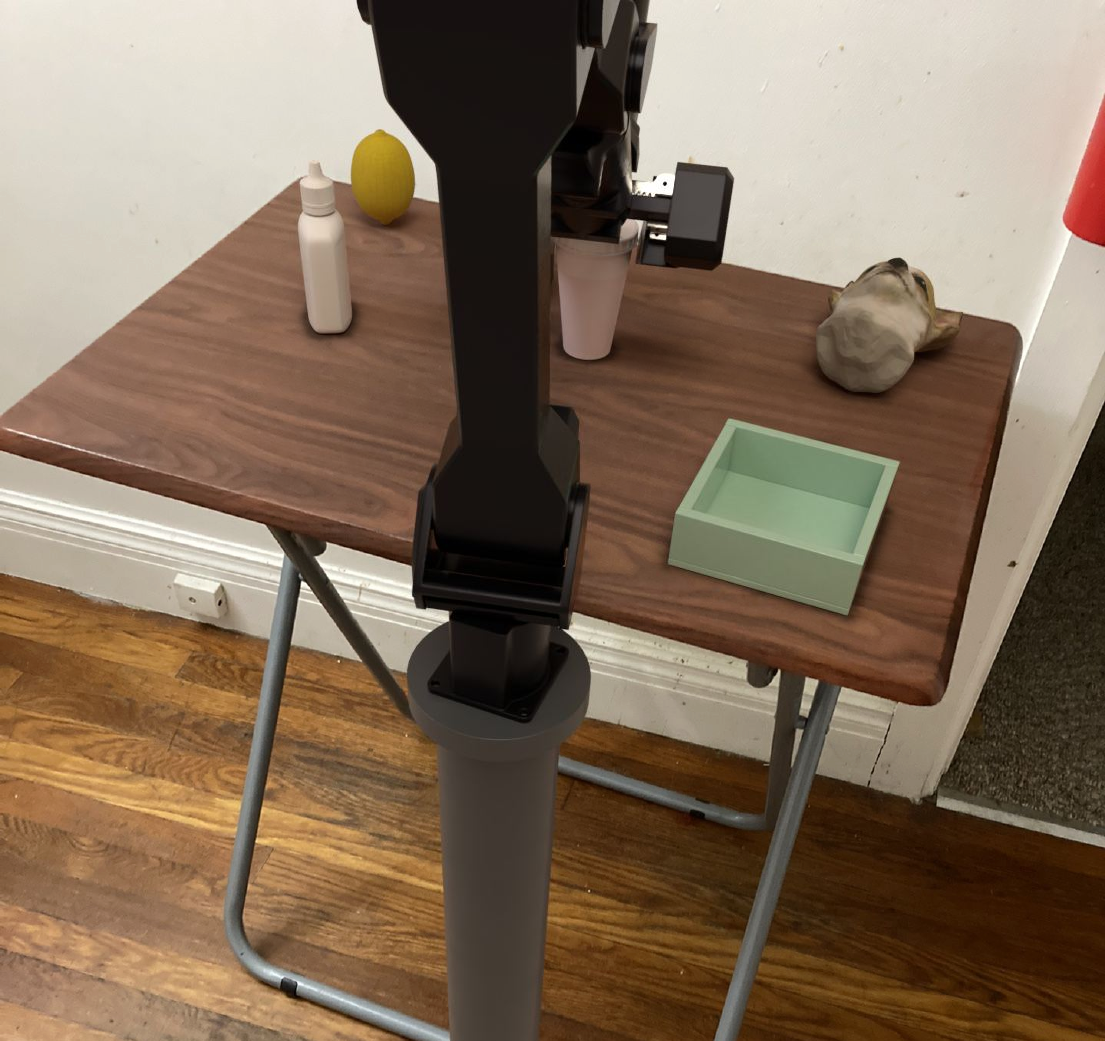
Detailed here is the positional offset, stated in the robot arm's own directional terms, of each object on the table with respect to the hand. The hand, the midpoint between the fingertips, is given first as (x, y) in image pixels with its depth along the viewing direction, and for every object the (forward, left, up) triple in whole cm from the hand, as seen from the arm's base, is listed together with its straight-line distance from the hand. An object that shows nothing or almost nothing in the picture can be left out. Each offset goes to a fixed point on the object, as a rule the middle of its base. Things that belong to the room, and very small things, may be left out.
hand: (595, 252), depth 87 cm
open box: (-18, -20, -7) cm, 28 cm away
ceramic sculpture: (+7, -21, -7) cm, 23 cm away
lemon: (+11, +24, -7) cm, 27 cm away
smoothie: (-1, 0, -7) cm, 7 cm away
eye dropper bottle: (-6, +20, -7) cm, 22 cm away
